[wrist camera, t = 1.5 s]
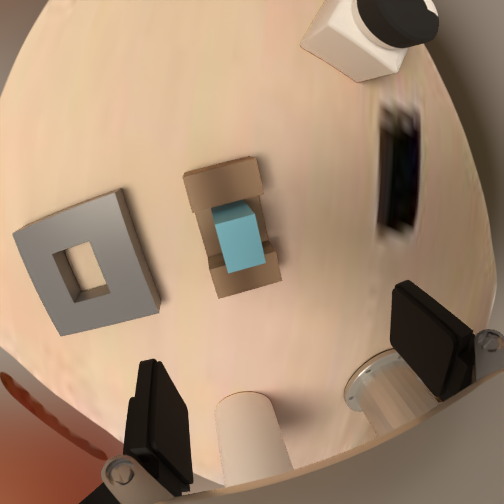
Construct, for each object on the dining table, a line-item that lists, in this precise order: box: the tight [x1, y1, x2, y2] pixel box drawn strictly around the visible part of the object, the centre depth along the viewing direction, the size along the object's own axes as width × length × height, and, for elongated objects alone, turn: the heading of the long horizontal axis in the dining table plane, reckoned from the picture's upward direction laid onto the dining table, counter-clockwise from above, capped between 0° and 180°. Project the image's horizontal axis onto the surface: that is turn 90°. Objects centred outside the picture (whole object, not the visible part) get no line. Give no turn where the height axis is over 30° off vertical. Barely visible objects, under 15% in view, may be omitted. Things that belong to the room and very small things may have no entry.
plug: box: [211, 199, 266, 273], centre depth 26 cm, size 3×4×6 cm
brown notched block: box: [183, 156, 282, 299], centre depth 27 cm, size 6×11×4 cm, turn 13°
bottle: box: [215, 392, 294, 487], centre depth 25 cm, size 8×8×30 cm
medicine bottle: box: [300, 0, 439, 82], centre depth 19 cm, size 7×7×12 cm
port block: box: [13, 188, 161, 336], centre depth 26 cm, size 12×12×2 cm
